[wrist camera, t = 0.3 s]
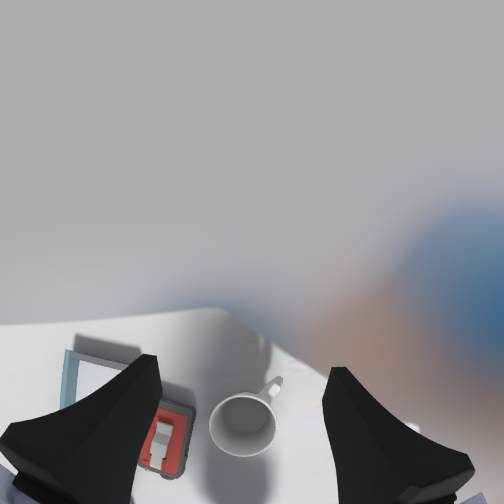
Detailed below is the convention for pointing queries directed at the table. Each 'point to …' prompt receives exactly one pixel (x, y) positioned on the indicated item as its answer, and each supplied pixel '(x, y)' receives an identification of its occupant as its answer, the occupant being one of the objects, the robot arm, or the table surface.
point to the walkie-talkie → (168, 440)
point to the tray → (72, 371)
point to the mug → (246, 421)
